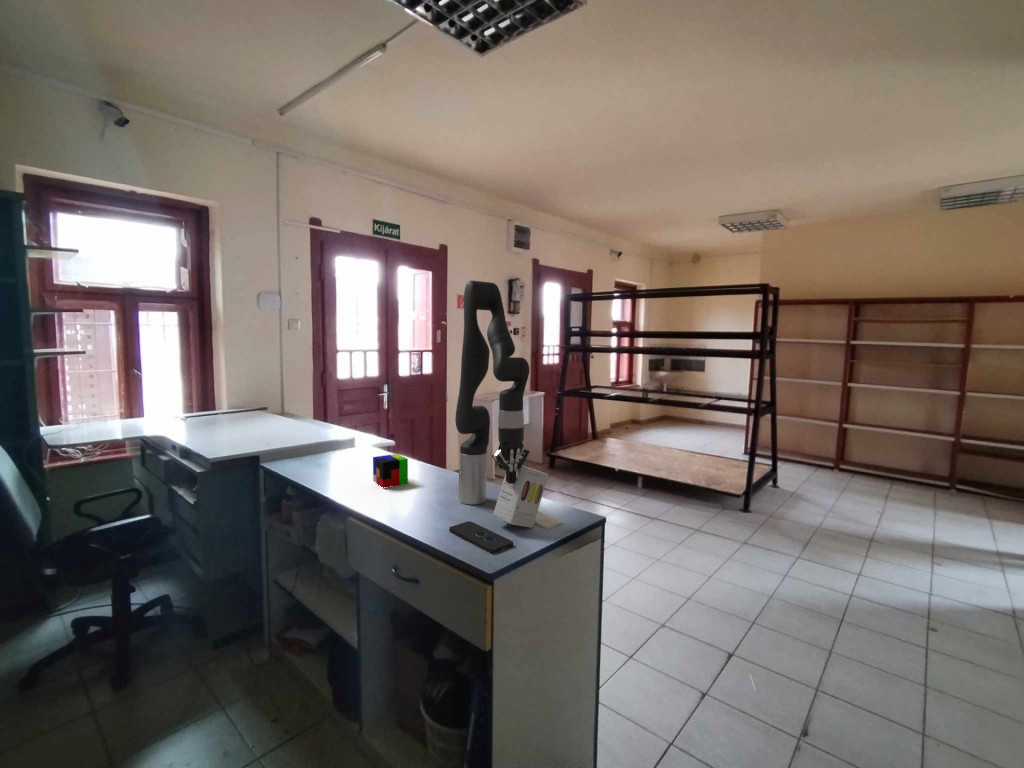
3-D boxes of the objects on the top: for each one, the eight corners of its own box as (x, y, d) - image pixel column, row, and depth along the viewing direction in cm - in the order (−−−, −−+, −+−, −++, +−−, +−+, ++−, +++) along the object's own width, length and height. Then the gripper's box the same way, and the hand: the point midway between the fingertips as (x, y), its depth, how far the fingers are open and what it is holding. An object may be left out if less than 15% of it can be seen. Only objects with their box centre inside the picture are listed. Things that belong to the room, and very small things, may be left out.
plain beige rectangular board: (512, 513, 153) (512, 511, 153) (528, 509, 157) (528, 507, 157) (546, 529, 141) (546, 527, 141) (563, 523, 145) (563, 521, 145)
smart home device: (491, 550, 123) (447, 526, 138) (491, 556, 123) (447, 532, 138) (514, 541, 129) (470, 520, 144) (514, 547, 129) (470, 525, 144)
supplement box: (510, 524, 136) (527, 467, 138) (491, 514, 143) (508, 461, 145) (533, 528, 141) (549, 474, 143) (515, 518, 149) (530, 467, 151)
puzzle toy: (373, 482, 184) (372, 457, 183) (397, 477, 190) (397, 453, 189) (382, 488, 176) (382, 462, 175) (407, 484, 182) (407, 458, 181)
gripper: (520, 421, 145) (519, 476, 147) (485, 425, 137) (485, 484, 138) (536, 424, 140) (536, 482, 141) (501, 429, 131) (501, 490, 132)
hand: (510, 483), depth 139 cm, fingers closed
